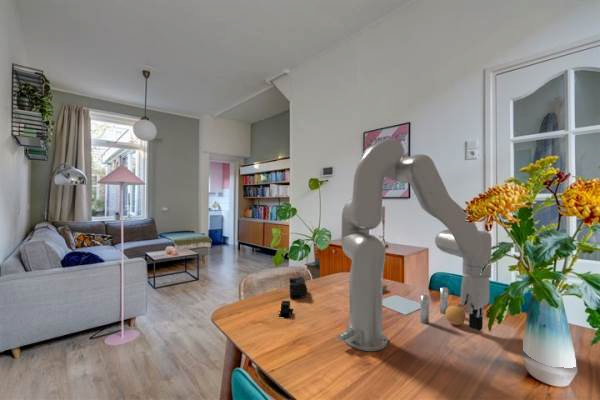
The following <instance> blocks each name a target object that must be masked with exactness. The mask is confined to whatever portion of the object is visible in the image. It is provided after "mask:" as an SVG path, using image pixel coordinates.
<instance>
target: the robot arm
mask: <svg viewBox="0 0 600 400" xmlns="http://www.w3.org/2000/svg"><path fill="white" fill-rule="evenodd" d="M404 151H405V150H404V145H403V144H402V142H401V141H399V140H398V139H395V138H386V139H383V140H381V141H378V142H376V143H375V144H373V145H370V146H368V147H367V148H366V149H364V152H363V154H362V158H361V159H360V161H359V163H358V165H357V167H356V168H355V173H354V177H353V187H352V198H350V199H349V200H348V201H346V203H345V204H344V206H343V209H342V211H341V212H342V213H341V238H340V239H341V249H342V252H343V253H344V254H345V256H346V257H348V258H349V259H350V260H351V266H350V271H349V321H348V322H349V324H348V325H346V330H345V331H344V332H342V333H339V334H338V335H337V339H338V341H339V342H344V341H345V343H346V344H348V345H349V346H350V347H352V348H354V349H357V350H358V351H359V350H360V351H365V352H376V351H378V352H379V351H381V350H383V349H384V348H386V347H387V346H388V337H387V335H386V334H385V333H384V332H383V306H382V299H383V292H382V284H383V277H384V276H383V275H384V268H385V267H384V266H385V263H386V249H385V246H384V244H383V242H382V241H381V240H380V239H379V238H378V237H377V236H374V235H373V234H370V230H374V229H377V228H378V226H379V225H380V224H381V222H382V218H383V188H384V180H385V178H386V179H389V180H392V181H394V182H398V183H401V184H409V185H410V186H411V188H412V190H413V193H414V195H415V196H416V199H417V201H418V203H419V205H420V207H421V209H423V210H424V211H425V213H427V214H429V215H430V216H432V217H434V218H436V219H437V220H438V221H439V222H441V223H442V224H443V225H444V226H445V227H446V229H444V230H441V231H439V232H438V233H437V234H436V236H435V238H434V243H435V246H436V248H437V249H439V250H440V251H441V252H442V253H445V254H449V255H452V256H455V257H460V258H462V274H463V275H462V278H461V279H462V280H461V287H460V298H459V299H460V303H459V304H460V305H461V306H463V307H464V306H466V310H465V312H466V313H467V314H468V327H469V328H471V329H474V330H477V331H482V330H483V318H484V317H483V316H484V310H485V309H484V308H485V306H487V305H488V304H489V303H490V298H491V297H490V294H491V293H490V279H491V278H492V263H491V264H490V265H488V266H487V268H486V269H485V271H484V272H483V273H482V274H481V275H480V273H481V270H482V268H483V266H484V264H485V263H486V262H487V261H488V260H489V259H490V258H491V259H492V246H493V245H492V241H493V240H492V239H493V238H492V234H491V233H490V232H488V231H483V230H479V229H478V227H477V225H476V223H475V222H474V223H471V224H470V223H467V222H465V221H464V220H465V218H466V217H467V214H468V213H467V212H466V213H467V214H466V213H464V212H463V210H464V209H463V208H462V207H461V206H460V205H459V203H457V202H456V200H454V199H453V198H452V197H451V196H450V194H449V192H448V190H447V188H446V186H445V183H444V182H443V179H442V177H441V176H440V175H441V174H440V173H439V171H438V169H437V166H436V165H435V162H434V161H433V159H432V158H431V157H430V156H429V155H427V154H414V155H409V156H404ZM490 248H491V249H490Z"/></svg>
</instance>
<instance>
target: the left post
mask: <svg viewBox="0 0 600 400" xmlns="http://www.w3.org/2000/svg"><path fill="white" fill-rule="evenodd" d="M420 303H421V309H420V323H421V324H423V325H428V324H430V295H429V294H428V295H427V294H421V295H420Z"/></svg>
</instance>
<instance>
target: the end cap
mask: <svg viewBox="0 0 600 400" xmlns="http://www.w3.org/2000/svg"><path fill="white" fill-rule="evenodd" d="M306 294H308V287H307V284H306V280H305V279H304V277H303V276H298V278H297V277H296V278H295V277H294V278H293V277H292V278H289V299H291V300H294V299H295V300H297V299H298V300H300V299H302V298H304V297H305V296H306Z"/></svg>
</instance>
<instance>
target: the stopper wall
mask: <svg viewBox="0 0 600 400" xmlns="http://www.w3.org/2000/svg"><path fill="white" fill-rule="evenodd" d="M387 287H388V286H387V284H385V283H382V293H384V292H386V291H387V290H388V289H387Z"/></svg>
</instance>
